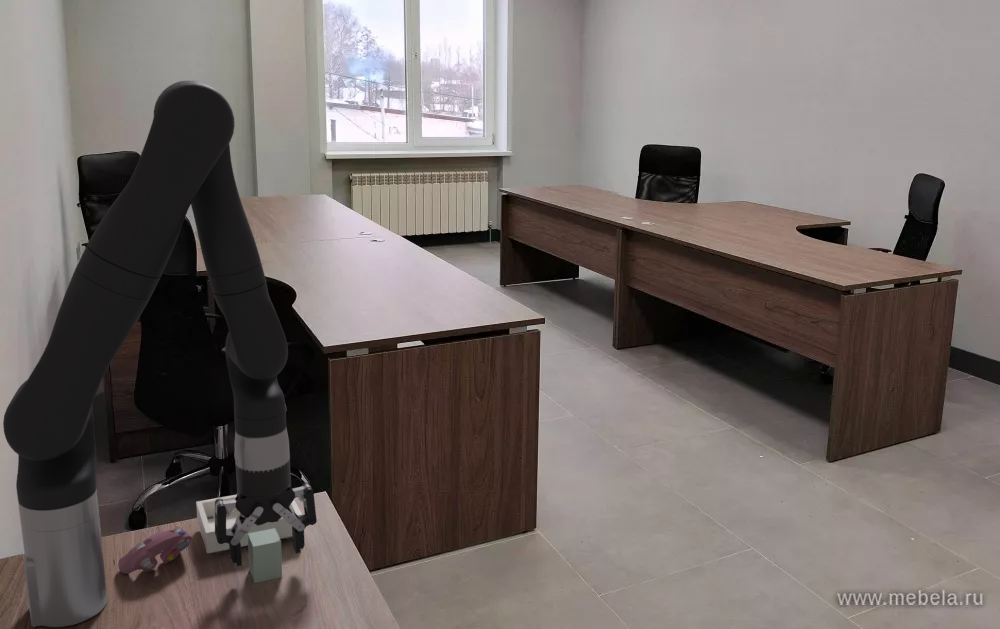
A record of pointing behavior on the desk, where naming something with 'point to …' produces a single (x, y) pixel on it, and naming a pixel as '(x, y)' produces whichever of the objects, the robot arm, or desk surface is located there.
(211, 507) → the white planter box
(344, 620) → the desk surface
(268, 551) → the sage block
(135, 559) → the video game controller
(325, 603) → the desk surface
